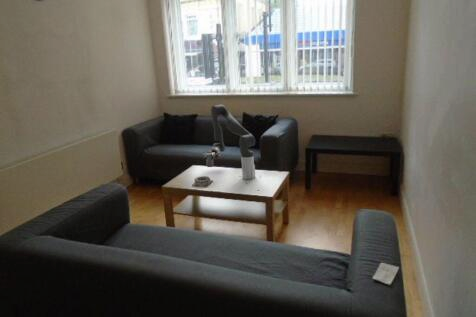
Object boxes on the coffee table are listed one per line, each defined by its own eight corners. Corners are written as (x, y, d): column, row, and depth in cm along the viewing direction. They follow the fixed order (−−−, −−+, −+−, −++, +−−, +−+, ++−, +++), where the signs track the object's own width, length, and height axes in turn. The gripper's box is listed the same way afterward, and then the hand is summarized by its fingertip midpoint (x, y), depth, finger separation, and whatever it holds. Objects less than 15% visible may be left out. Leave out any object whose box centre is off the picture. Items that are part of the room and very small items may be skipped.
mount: (213, 181, 283) (212, 176, 282) (206, 187, 272) (206, 182, 271) (199, 180, 287) (198, 175, 286) (191, 186, 276) (191, 180, 275)
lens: (214, 165, 289) (213, 150, 286) (211, 167, 285) (210, 152, 282) (208, 165, 291) (207, 150, 288) (205, 167, 287) (204, 151, 283)
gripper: (204, 148, 300) (199, 153, 284) (222, 147, 297) (217, 153, 281) (205, 157, 302) (199, 163, 286) (223, 156, 299) (218, 162, 283)
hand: (208, 158), depth 284 cm, fingers closed on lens, 5 cm apart
